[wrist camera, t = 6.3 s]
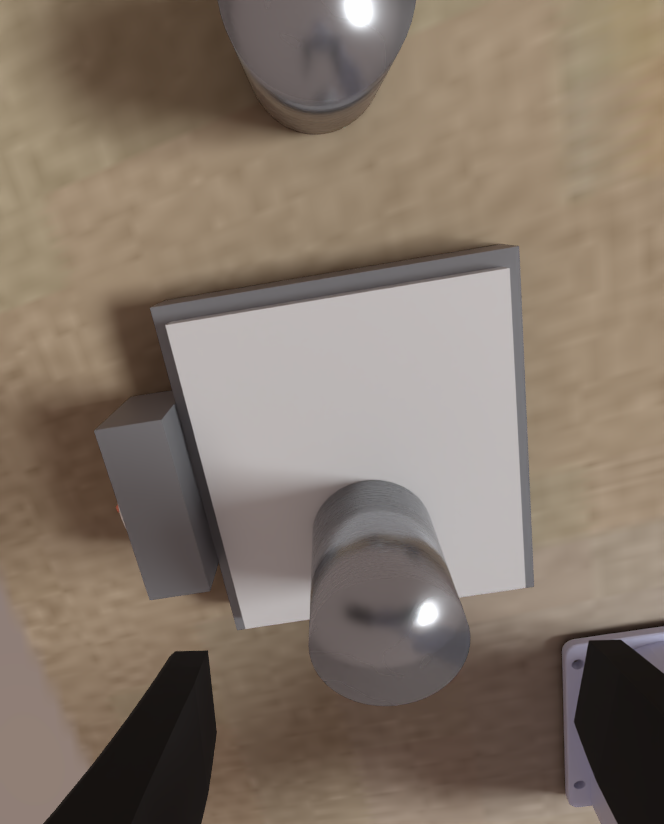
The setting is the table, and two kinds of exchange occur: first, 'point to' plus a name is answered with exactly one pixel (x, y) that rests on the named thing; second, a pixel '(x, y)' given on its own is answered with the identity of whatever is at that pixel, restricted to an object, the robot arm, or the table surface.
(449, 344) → the scale
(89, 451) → the table surface
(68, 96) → the table surface
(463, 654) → the cylinder
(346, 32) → the cylinder
